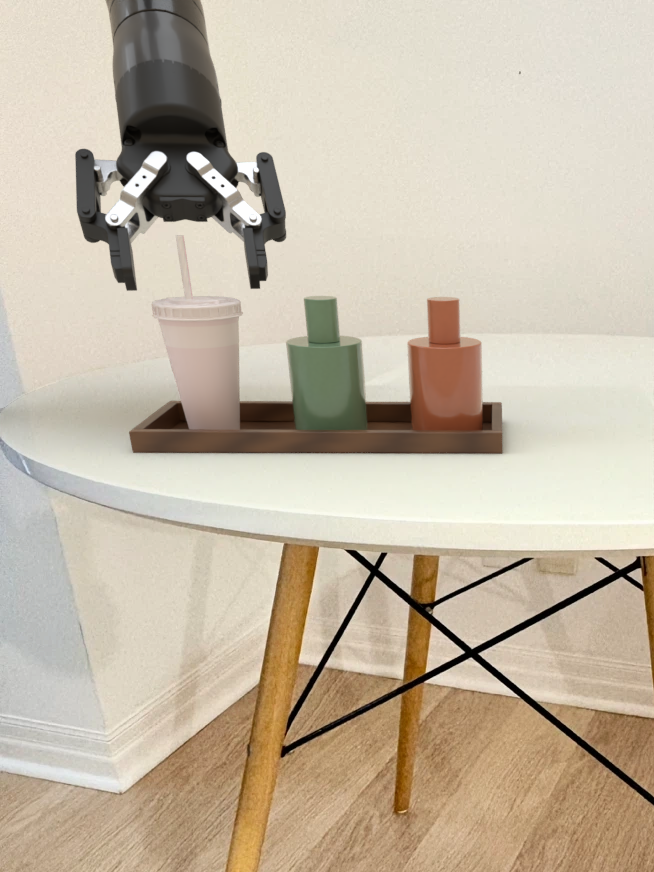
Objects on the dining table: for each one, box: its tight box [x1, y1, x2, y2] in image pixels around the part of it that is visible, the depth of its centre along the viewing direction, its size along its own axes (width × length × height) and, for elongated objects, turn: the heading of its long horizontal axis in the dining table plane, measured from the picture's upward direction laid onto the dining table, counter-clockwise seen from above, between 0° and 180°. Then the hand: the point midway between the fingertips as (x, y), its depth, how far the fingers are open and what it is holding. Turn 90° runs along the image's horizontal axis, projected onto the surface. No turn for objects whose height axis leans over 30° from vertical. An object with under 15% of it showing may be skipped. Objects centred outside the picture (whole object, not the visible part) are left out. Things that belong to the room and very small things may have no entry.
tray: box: [128, 400, 503, 455], centre depth 78 cm, size 27×11×2 cm, turn 92°
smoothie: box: [150, 234, 244, 430], centre depth 75 cm, size 6×6×14 cm
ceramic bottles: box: [285, 295, 484, 430], centre depth 76 cm, size 15×6×10 cm, turn 92°
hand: (193, 282), depth 72 cm, fingers open, 8 cm apart
